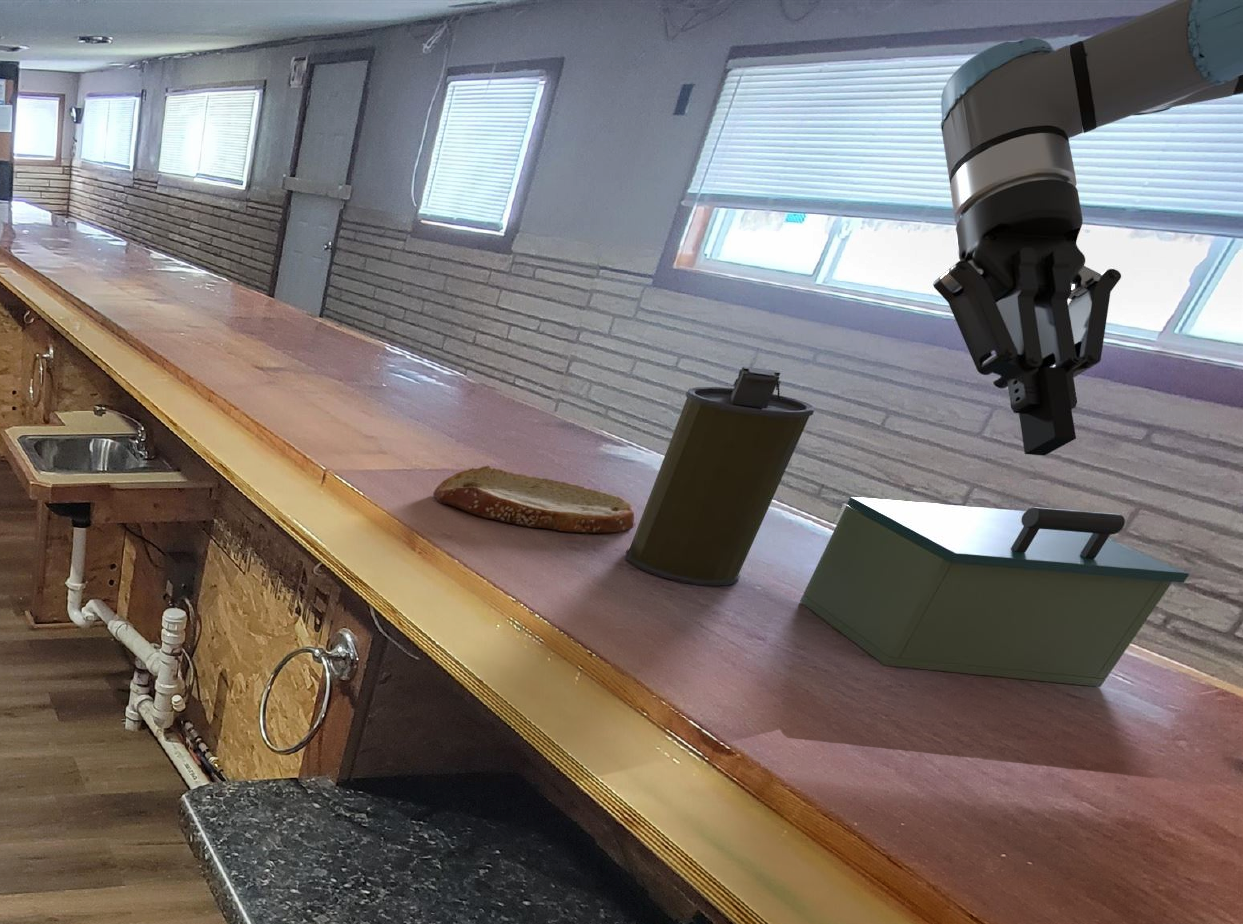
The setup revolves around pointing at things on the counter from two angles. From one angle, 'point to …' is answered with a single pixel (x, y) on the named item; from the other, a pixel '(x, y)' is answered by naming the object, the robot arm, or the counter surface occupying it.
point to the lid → (1019, 538)
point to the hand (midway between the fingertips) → (1049, 446)
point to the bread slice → (535, 502)
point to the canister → (718, 479)
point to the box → (973, 609)
